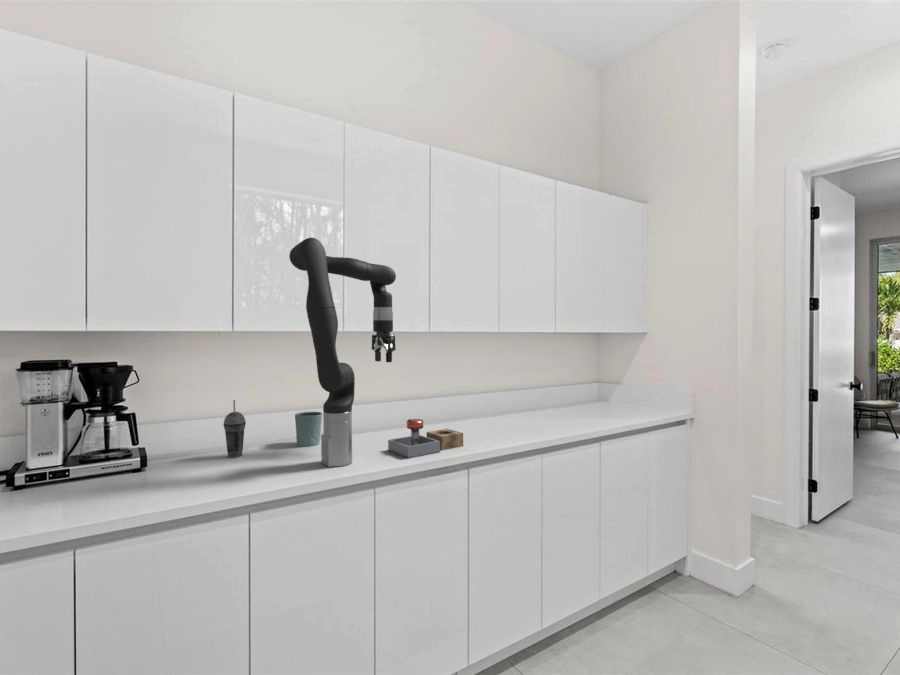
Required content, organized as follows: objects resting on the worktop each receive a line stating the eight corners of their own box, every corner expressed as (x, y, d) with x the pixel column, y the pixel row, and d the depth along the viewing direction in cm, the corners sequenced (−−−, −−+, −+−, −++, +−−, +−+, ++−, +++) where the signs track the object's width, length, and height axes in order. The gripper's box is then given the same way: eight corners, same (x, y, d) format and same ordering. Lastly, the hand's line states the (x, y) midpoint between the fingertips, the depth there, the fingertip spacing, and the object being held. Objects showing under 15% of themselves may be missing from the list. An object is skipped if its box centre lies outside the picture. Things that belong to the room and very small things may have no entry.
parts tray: (408, 458, 160) (407, 446, 160) (388, 450, 171) (388, 439, 171) (440, 452, 169) (439, 441, 169) (419, 445, 180) (419, 434, 179)
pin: (426, 449, 170) (426, 418, 170) (412, 452, 167) (411, 420, 166) (418, 446, 175) (418, 415, 175) (404, 448, 172) (403, 417, 171)
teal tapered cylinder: (290, 444, 182) (290, 413, 182) (314, 439, 189) (313, 410, 189) (303, 448, 175) (302, 416, 175) (327, 444, 182) (327, 413, 182)
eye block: (442, 450, 171) (441, 436, 171) (426, 445, 179) (426, 432, 179) (463, 446, 178) (463, 432, 177) (447, 441, 185) (447, 428, 185)
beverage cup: (246, 452, 170) (246, 397, 169) (245, 457, 163) (245, 400, 163) (224, 454, 167) (223, 398, 167) (222, 459, 160) (221, 401, 160)
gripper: (401, 319, 176) (401, 362, 176) (382, 320, 187) (382, 360, 187) (383, 318, 171) (383, 363, 171) (365, 319, 182) (365, 361, 183)
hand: (383, 361), depth 179 cm, fingers open, 8 cm apart
